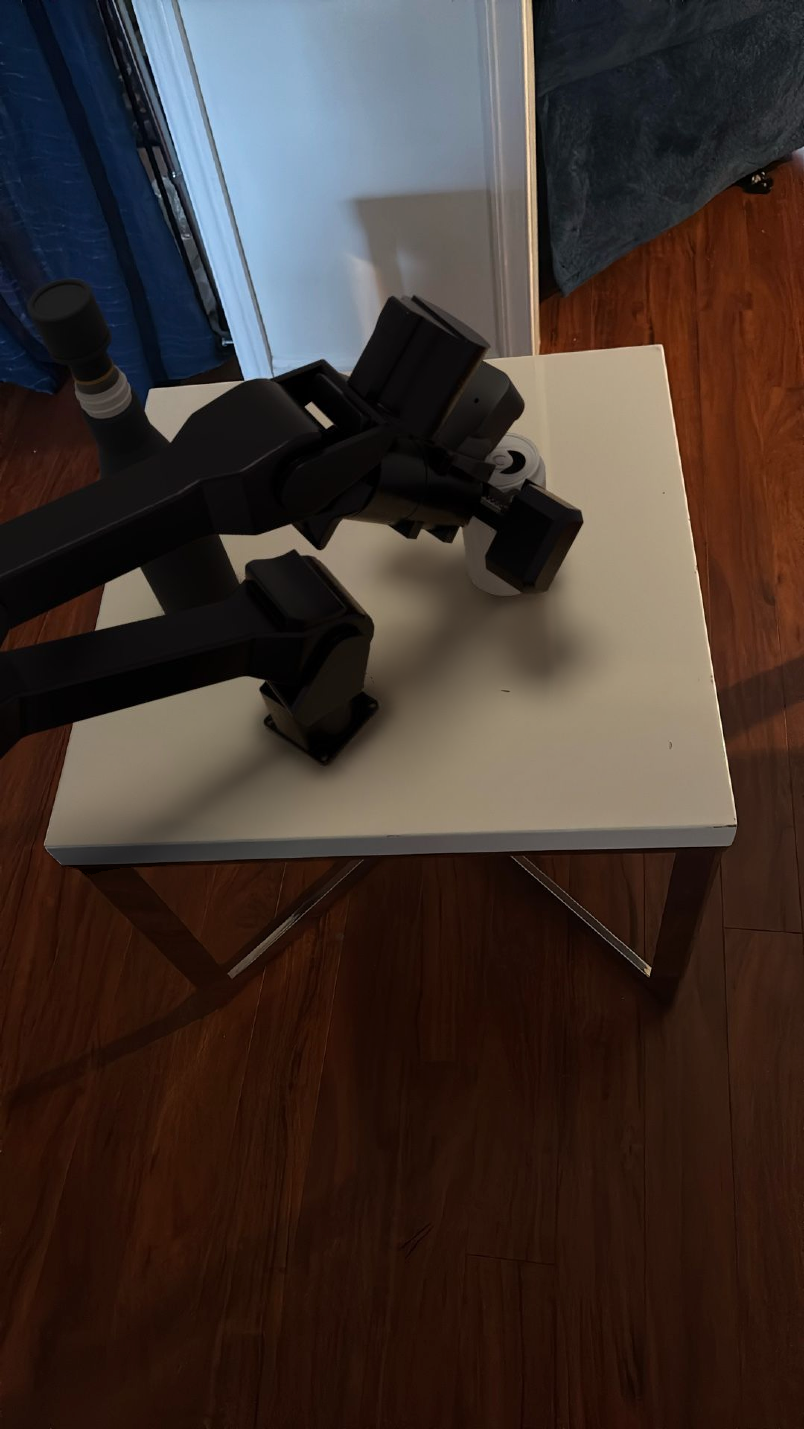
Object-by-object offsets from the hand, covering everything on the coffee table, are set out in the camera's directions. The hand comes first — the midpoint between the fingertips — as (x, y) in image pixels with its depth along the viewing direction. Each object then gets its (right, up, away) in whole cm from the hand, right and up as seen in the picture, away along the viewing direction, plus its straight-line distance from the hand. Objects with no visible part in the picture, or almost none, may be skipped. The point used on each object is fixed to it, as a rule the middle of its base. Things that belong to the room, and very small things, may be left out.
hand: (516, 502), depth 78 cm
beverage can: (0, -5, +5) cm, 7 cm away
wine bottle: (-24, -8, +7) cm, 26 cm away
